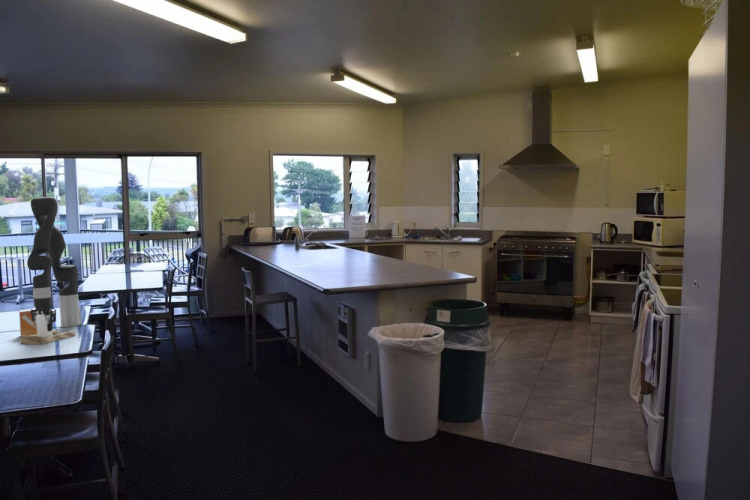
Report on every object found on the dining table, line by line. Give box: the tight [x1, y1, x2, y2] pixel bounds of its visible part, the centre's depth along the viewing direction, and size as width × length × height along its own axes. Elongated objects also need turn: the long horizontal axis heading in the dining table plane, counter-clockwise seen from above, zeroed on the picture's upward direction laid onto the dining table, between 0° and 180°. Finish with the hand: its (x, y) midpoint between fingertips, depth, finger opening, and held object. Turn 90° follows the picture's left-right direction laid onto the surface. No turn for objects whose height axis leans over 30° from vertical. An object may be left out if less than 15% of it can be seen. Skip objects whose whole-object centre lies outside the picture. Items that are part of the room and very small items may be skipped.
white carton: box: [36, 314, 53, 338], centre depth 286 cm, size 6×6×12 cm
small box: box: [18, 308, 37, 336], centre depth 298 cm, size 8×6×13 cm
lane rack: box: [19, 329, 75, 346], centre depth 287 cm, size 20×12×4 cm, turn 160°
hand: (44, 330), depth 286 cm, fingers closed on white carton, 6 cm apart
